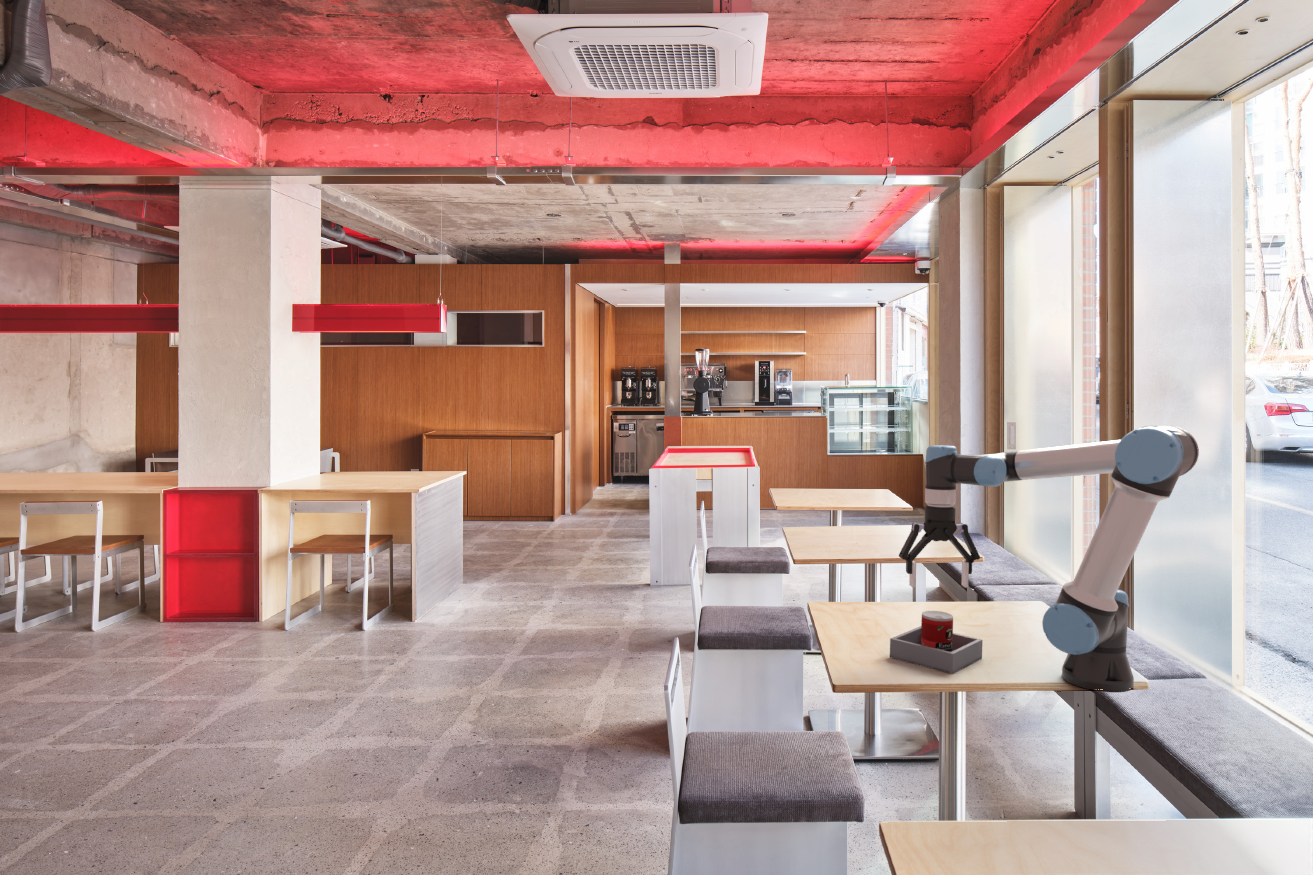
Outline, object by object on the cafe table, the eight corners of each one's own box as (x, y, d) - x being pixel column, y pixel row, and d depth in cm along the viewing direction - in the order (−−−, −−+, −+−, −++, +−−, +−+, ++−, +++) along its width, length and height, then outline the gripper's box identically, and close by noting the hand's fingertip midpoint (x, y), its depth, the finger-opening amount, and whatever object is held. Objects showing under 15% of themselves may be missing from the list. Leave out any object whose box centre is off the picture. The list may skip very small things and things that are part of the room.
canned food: (939, 662, 205) (940, 620, 204) (914, 654, 211) (915, 613, 211) (958, 657, 209) (959, 616, 208) (933, 649, 216) (934, 608, 215)
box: (981, 658, 210) (982, 639, 210) (952, 673, 198) (953, 653, 198) (921, 643, 222) (921, 625, 222) (889, 657, 210) (890, 638, 210)
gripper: (982, 503, 212) (981, 583, 213) (887, 503, 212) (886, 582, 213) (994, 507, 204) (992, 589, 205) (896, 506, 204) (894, 589, 205)
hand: (938, 586), depth 209 cm, fingers open, 13 cm apart
